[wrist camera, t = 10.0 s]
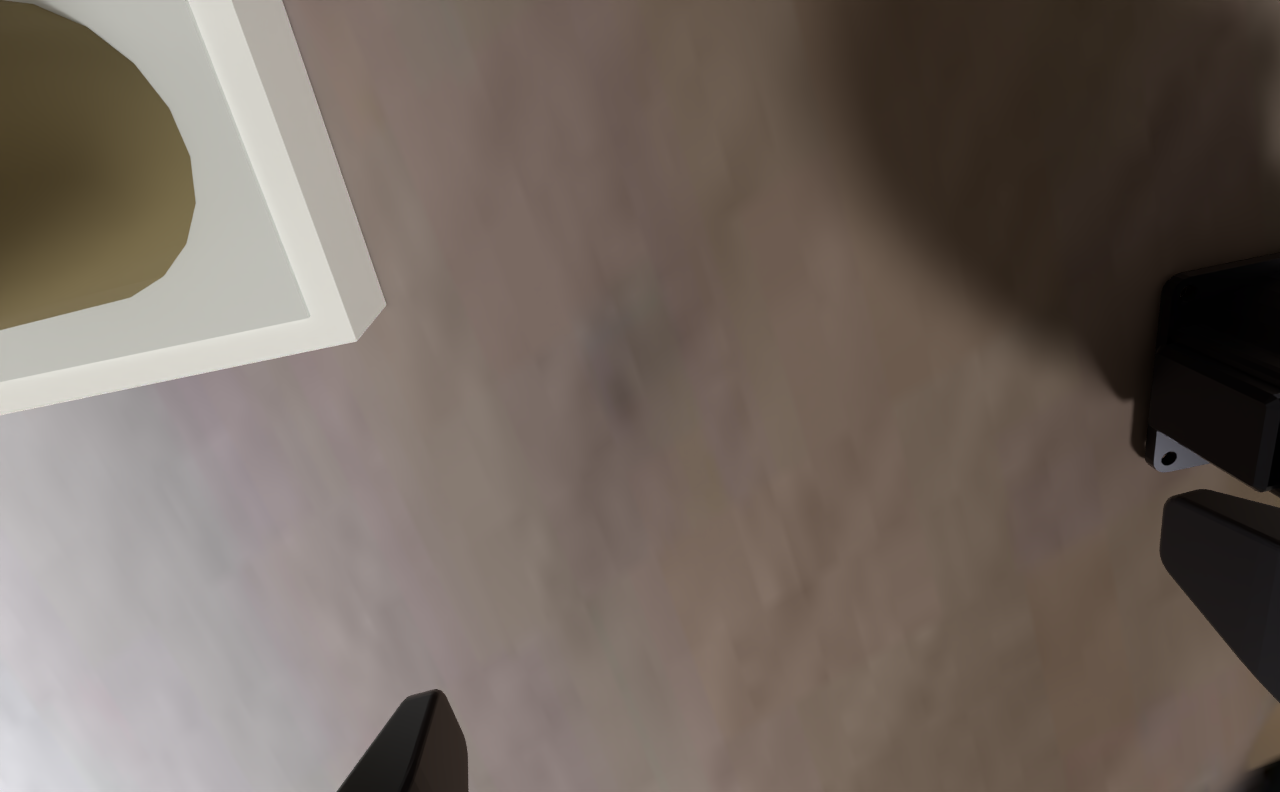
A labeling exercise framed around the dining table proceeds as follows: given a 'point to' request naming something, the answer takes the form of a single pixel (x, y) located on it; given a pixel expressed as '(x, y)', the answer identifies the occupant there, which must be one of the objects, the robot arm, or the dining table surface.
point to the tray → (215, 215)
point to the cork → (82, 171)
